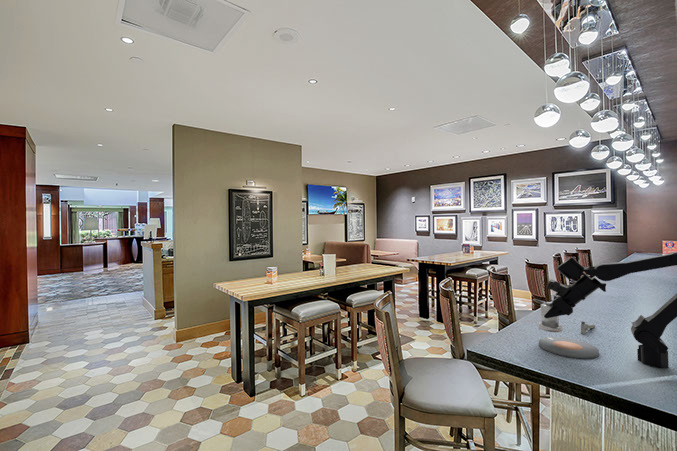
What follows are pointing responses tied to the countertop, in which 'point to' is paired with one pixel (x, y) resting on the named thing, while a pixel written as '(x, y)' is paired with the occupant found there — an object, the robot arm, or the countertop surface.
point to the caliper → (585, 327)
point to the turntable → (568, 347)
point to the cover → (549, 320)
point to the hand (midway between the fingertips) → (545, 315)
